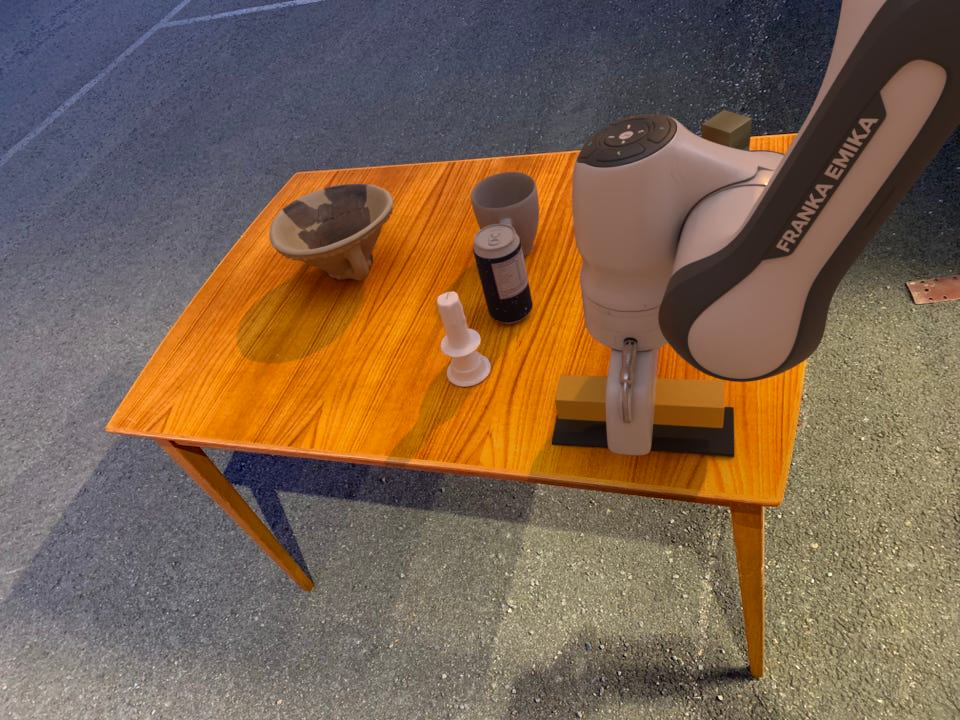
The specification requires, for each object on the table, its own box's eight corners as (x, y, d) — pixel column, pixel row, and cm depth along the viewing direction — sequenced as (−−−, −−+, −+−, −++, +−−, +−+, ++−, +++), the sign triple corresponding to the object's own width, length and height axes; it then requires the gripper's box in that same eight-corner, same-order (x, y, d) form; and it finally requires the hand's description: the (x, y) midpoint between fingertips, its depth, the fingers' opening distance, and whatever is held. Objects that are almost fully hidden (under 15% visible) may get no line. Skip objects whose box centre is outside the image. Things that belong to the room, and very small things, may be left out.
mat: (733, 409, 71) (733, 406, 71) (734, 456, 67) (734, 454, 67) (560, 401, 77) (559, 398, 76) (551, 444, 73) (551, 442, 73)
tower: (758, 187, 97) (765, 120, 90) (685, 239, 92) (686, 173, 85) (711, 170, 102) (714, 105, 95) (640, 218, 97) (637, 154, 90)
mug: (484, 234, 102) (471, 177, 95) (544, 225, 101) (534, 166, 94) (482, 286, 94) (468, 227, 87) (548, 277, 92) (538, 217, 85)
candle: (466, 349, 86) (443, 273, 77) (499, 364, 83) (480, 287, 74) (438, 377, 83) (411, 302, 75) (471, 393, 80) (448, 317, 72)
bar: (722, 428, 67) (724, 408, 65) (557, 419, 71) (554, 400, 69) (722, 400, 69) (724, 380, 67) (563, 393, 74) (559, 374, 72)
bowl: (428, 268, 99) (410, 211, 92) (311, 323, 95) (284, 268, 89) (384, 216, 111) (366, 162, 104) (279, 262, 107) (254, 210, 101)
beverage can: (534, 296, 90) (520, 219, 82) (532, 326, 86) (517, 248, 78) (491, 299, 91) (473, 224, 83) (487, 329, 87) (468, 253, 79)
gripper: (666, 395, 52) (666, 496, 62) (676, 232, 66) (676, 336, 75) (582, 391, 54) (595, 490, 64) (609, 233, 68) (617, 335, 77)
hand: (639, 406), depth 70 cm, fingers closed on bar, 3 cm apart
